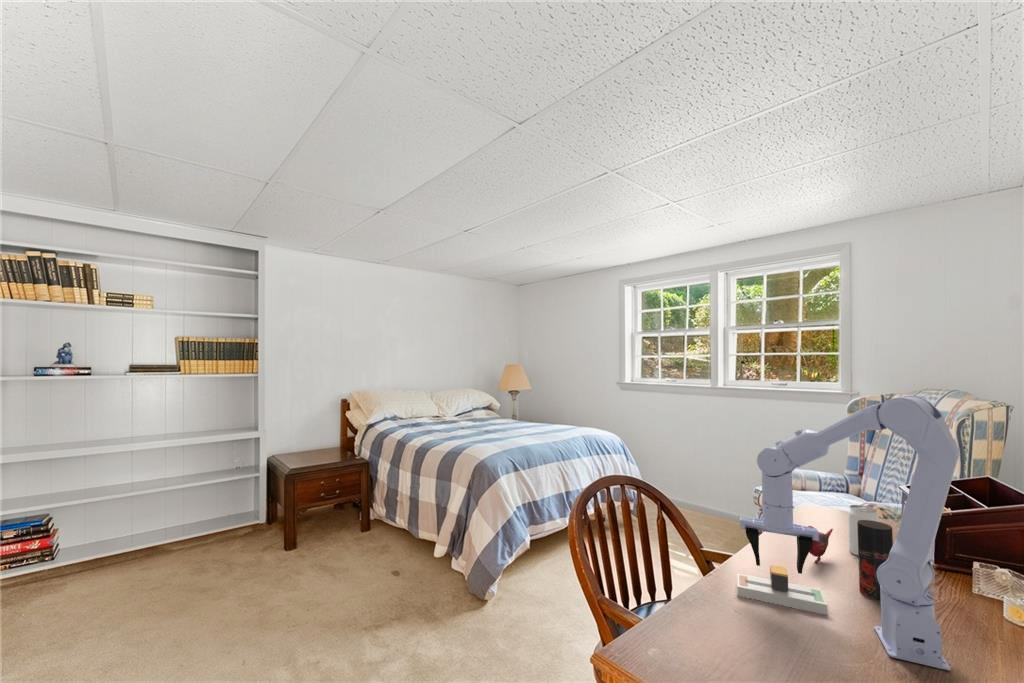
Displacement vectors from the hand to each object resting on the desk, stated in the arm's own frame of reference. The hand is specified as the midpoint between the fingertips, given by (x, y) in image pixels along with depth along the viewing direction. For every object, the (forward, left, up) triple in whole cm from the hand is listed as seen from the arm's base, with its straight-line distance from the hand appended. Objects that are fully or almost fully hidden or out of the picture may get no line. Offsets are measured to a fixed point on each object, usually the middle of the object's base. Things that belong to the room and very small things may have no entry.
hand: (778, 567), depth 96 cm
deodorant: (+11, -19, -6) cm, 23 cm away
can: (+36, -22, -6) cm, 43 cm away
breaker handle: (0, 0, -4) cm, 4 cm away
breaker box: (0, 0, -6) cm, 6 cm away
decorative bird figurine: (+26, -11, -6) cm, 29 cm away
